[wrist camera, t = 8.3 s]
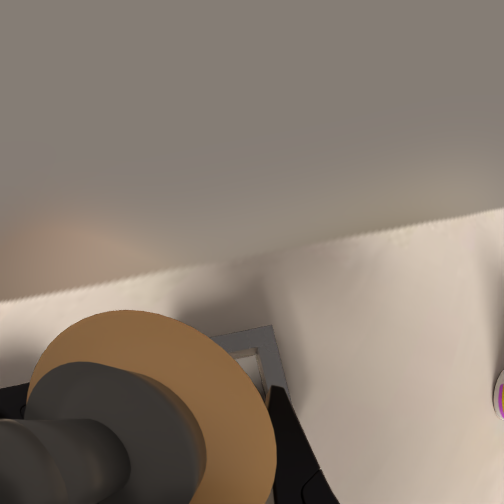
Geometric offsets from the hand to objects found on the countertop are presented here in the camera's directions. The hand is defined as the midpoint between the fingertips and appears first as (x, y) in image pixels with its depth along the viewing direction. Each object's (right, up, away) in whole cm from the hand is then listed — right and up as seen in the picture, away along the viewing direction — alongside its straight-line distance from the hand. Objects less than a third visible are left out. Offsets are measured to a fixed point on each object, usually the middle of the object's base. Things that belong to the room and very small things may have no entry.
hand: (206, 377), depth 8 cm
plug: (0, -4, +5) cm, 7 cm away
